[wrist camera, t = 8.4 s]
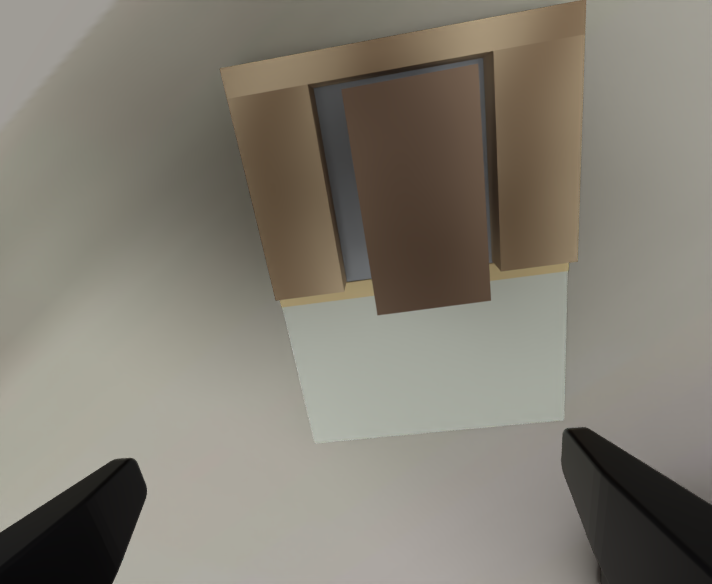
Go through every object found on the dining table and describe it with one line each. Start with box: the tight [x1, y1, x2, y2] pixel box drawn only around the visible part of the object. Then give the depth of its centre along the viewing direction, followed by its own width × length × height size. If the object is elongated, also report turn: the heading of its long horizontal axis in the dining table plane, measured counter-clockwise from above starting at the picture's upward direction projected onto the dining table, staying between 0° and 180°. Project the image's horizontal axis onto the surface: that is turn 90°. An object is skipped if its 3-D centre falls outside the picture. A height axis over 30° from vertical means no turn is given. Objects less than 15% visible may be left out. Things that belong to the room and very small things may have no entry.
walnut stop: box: [341, 64, 491, 316], centre depth 15 cm, size 4×6×6 cm, turn 9°
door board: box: [280, 58, 569, 444], centre depth 19 cm, size 13×18×1 cm
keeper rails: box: [220, 0, 586, 301], centre depth 17 cm, size 12×9×2 cm
